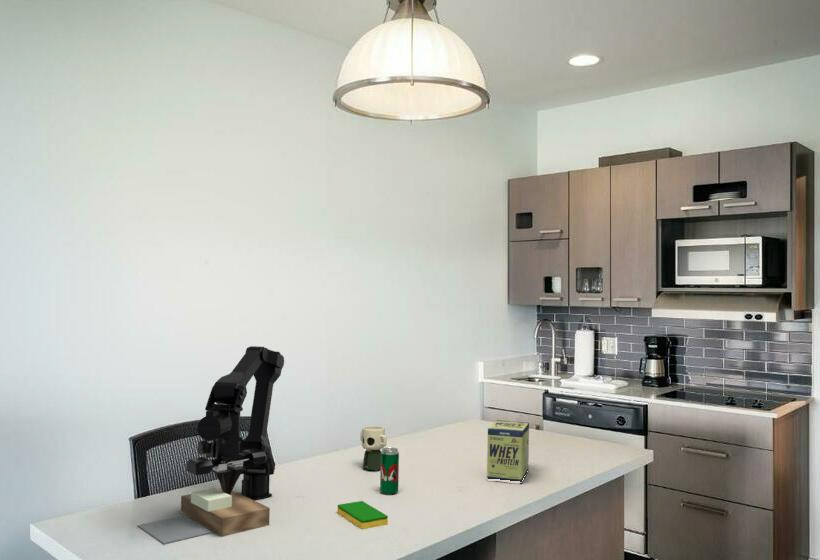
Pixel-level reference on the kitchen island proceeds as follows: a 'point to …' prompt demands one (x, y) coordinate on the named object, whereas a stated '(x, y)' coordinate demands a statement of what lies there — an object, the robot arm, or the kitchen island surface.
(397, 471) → the soda can
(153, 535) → the slate mat
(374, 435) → the character mug
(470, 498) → the kitchen island surface
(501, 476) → the protein box
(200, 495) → the sage tile
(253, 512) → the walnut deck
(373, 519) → the dish sponge
